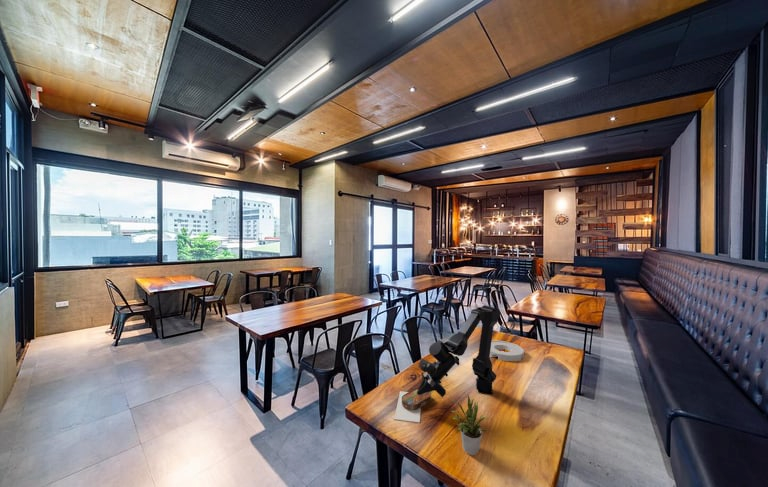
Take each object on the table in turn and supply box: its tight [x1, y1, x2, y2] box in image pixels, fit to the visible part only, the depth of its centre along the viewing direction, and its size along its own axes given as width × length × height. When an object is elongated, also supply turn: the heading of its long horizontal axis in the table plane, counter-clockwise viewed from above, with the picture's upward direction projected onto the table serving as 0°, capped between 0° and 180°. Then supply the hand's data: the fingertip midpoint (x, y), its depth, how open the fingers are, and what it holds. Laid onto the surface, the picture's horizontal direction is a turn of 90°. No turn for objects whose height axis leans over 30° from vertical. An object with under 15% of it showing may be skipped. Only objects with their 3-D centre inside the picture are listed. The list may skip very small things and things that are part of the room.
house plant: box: [451, 392, 490, 456], centre depth 96 cm, size 14×14×16 cm
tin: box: [402, 387, 432, 410], centre depth 122 cm, size 15×3×8 cm
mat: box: [393, 390, 422, 424], centre depth 119 cm, size 10×20×1 cm, turn 170°
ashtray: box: [490, 340, 525, 362], centre depth 174 cm, size 23×23×4 cm
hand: (417, 394), depth 116 cm, fingers closed
